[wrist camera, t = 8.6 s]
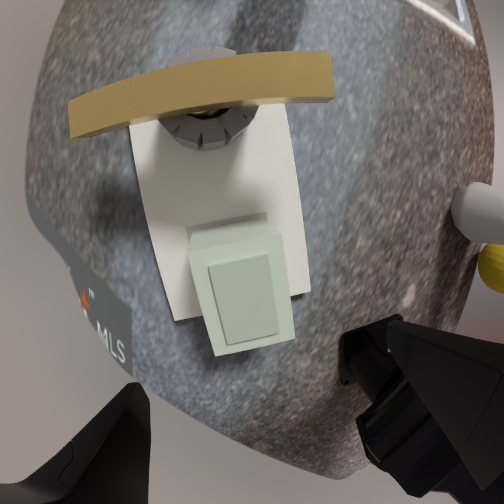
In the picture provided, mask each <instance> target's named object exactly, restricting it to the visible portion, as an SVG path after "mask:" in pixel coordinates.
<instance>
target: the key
mask: <svg viewBox="0 0 504 504" xmlns="http://www.w3.org/2000/svg"><path fill="white" fill-rule="evenodd" d="M334 97H335V93H334V83H333V74H332V66H331V58H330V52H329V51H280V52H263V53H251V54H241V55H232V56H225V57H218V58H211V59H205V60H200V61H194V62H189V63H184V64H180V65H175V66H171V67H167V68H163V69H159V70H155V71H151V72H148V73H144V74H141V75H137V76H134V77H131V78H128V79H124V80H121V81H118V82H116V83H113V84H110V85H107V86H104V87H102V88H99V89H96V90H94V91H91V92H89V93H86V94H84V95H81V96H79V97H77V98H74V99H72V100H70V101H68V108H69V126H70V139H74V138H86V137H93V136H96V135H99V134H103V133H106V132H110V131H113V130H117V129H120V128H124V127H128V126H132V125H136V124H140V123H144V122H149V121H153V120H158V119H162V118H167V117H172V116H178V115H183V114H189V113H190V114H194V115H197V116H201V117H204V118H207V119H212V118H218V117H220V116H222V115H223V114H224V113H225V112H227V111H228V110H229V109H230V108H232V107H242V106H252V105H266V104H284V103H328V102H329V101H330V100H331V99H333V98H334Z"/></svg>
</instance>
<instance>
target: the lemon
mask: <svg viewBox="0 0 504 504" xmlns="http://www.w3.org/2000/svg"><path fill="white" fill-rule="evenodd" d="M478 270H479V274H480V277H481V278H482V280H483V282H484V283H485V284H486V285H487V286H488V287H489V288H491V289H492V290H494V291H497V292H499V293H503V294H504V245H500V244H489V243H488V244H487V245H485V247H484V248H483V249H482V251H481V253H479V254H478Z"/></svg>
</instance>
